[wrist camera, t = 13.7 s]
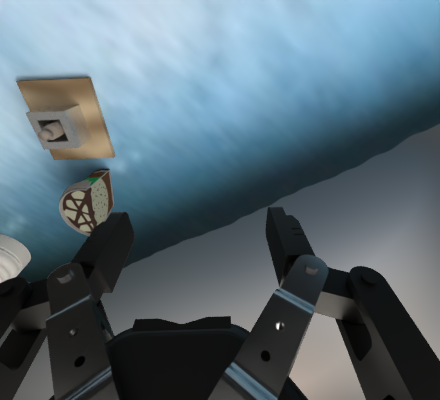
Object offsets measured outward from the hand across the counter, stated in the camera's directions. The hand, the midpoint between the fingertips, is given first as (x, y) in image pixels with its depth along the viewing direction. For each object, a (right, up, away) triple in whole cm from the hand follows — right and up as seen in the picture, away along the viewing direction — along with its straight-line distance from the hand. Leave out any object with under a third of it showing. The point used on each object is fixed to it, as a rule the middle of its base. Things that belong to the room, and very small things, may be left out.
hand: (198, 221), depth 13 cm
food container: (-26, +4, +37) cm, 45 cm away
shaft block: (-26, +16, +29) cm, 42 cm away
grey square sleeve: (-26, +15, +28) cm, 41 cm away
